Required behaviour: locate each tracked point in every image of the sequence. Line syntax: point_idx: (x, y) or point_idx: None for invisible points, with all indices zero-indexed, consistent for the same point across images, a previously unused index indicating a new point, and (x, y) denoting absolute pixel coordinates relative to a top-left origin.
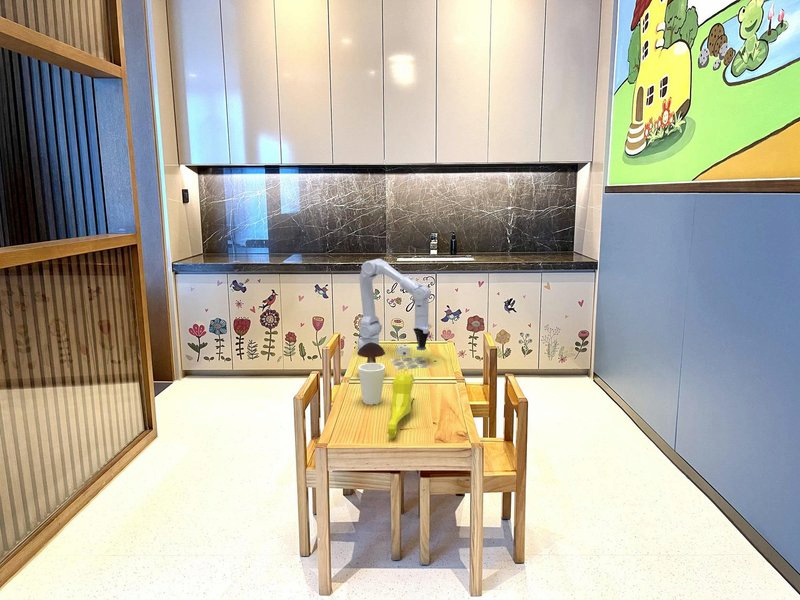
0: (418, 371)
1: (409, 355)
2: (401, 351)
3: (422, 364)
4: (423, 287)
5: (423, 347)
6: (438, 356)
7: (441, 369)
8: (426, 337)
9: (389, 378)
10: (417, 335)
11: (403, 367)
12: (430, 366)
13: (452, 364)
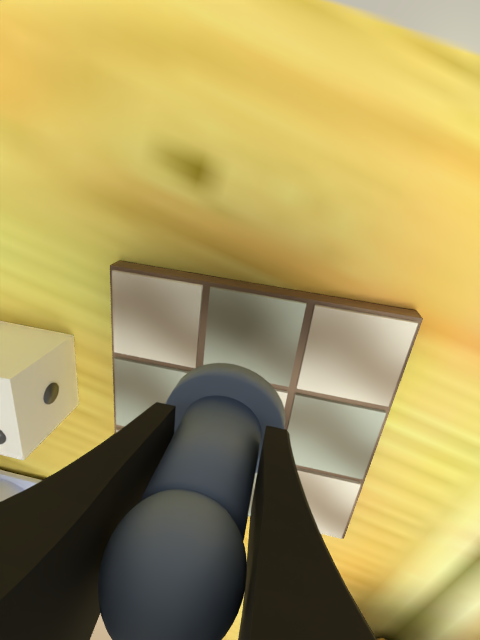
0: (394, 411)
1: (59, 346)
2: (40, 422)
3: (314, 356)
4: None
5: (258, 422)
6: (58, 65)
7: (453, 219)
8: (338, 596)
9: (424, 589)
10: (98, 607)
11: (321, 494)
12: (399, 320)
13: (363, 15)
